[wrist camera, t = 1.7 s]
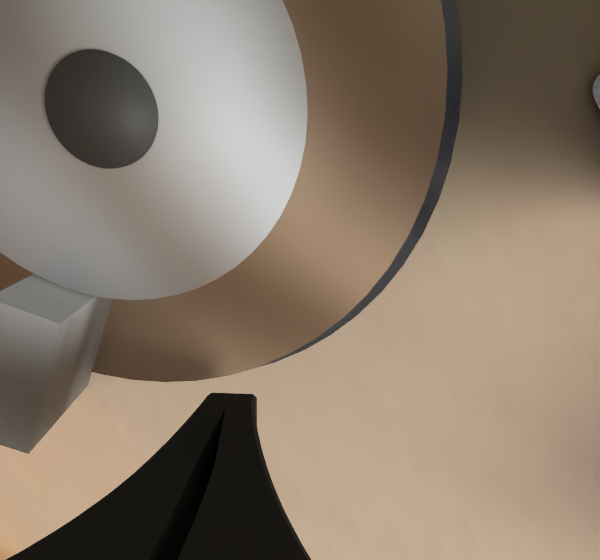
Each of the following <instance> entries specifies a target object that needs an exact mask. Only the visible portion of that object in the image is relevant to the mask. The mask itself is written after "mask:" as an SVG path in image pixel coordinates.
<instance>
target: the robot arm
mask: <svg viewBox="0 0 600 560" xmlns="http://www.w3.org/2000/svg"><path fill="white" fill-rule="evenodd" d="M592 91H593V96H594V98H595V100H596V103H597V105H598V107H599V109H600V74H599V75H598V76H597V78H596V80H595V82H594V84H593V90H592ZM6 560H311V559H310V557H309V555H308V554H307V552H306V550H305V549H304V547H303V545H302V544H301V542H300V540H299V538H298V536H297V534H296V532H295V530H294V529H293V527H292V525H291V523H290V521H289V519H288V517H287V515H286V513H285V511H284V509H283V507H282V504H281V502H280V500H279V498H278V495H277V493H276V490H275V488H274V486H273V483H272V480H271V478H270V475H269V472H268V469H267V466H266V462H265V459H264V456H263V452H262V449H261V444H260V440H259V436H258V431H257V398H256V397H255V396H254V395H253V394H230V393H211V394H209V395H208V396H207V397H206V399H205V400H204V401H203V402H202V403H201V405H200V406H199V407H198V408H197V409H196V411H195V412H194V413H193V414H192V415H191V416H190V418H189V419H188V420H187V421H186V422H185V423H184V424H183V425H182V427H181V428H180V429H179V430H178V431H177V432H176V433H175V434H174V435H173V436H172V437H171V438H170V439H169V440H168V442H167V443H166V444H165V445H164V446H162V447H161V448H160V449H159V450H158V451H157V452H156V453H155V454H154V455H153V456H152V457H151V458H150V459H149V460H148V461H147V462H146V463H145V464H144V465H143V466H142V467H140V468H139V469H138V470H137V471H136V472H135V473H134V474H133V475H131V476H130V477H129V478H128V479H127V480H125V481H124V482H123V483H122V484H121V485H119V486H118V487H117V488H116V489H114V490H113V491H112V492H111V493H109V494H108V495H107V496H105V497H104V498H103V499H101V500H100V501H98V502H97V503H96V504H94V505H93V506H91V507H90V508H89V509H87V510H86V511H84V512H83V513H82V514H80V515H79V516H77V517H76V518H74V519H73V520H72V521H70V522H68V523H67V524H65V525H64V526H62V527H61V528H59V529H58V530H56V531H54V532H53V533H51V534H50V535H48V536H46V537H45V538H43V539H41V540H40V541H38V542H36V543H35V544H33V545H31V546H30V547H28V548H26V549H24V550H23V551H21V552H19V553H17V554H16V555H14V556H12V557H10V558H8V559H6Z"/></svg>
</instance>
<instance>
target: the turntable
mask: <svg viewBox="0 0 600 560" xmlns="http://www.w3.org/2000/svg"><path fill="white" fill-rule="evenodd" d="M447 74H448V71H447V53H446V36H445V22H444V17H443V11H442V6H441V0H0V445H3V446H6V447H9V448H12V449H15V450H18V451H22V452H25V453H28V454H29V453H30V451H31V450H32V449H33V448H34V447H35V446H36V444H37V443H38V442H39V441H40V440H41V439H42V437H43V436H44V435H45V434H46V433H47V432H48V431H49V429H50V428H51V427H52V426H53V425H54V424H55V422H56V421H57V420H58V419H59V418H60V417H61V416H62V414H63V413H64V412H65V411H66V410H67V409H68V407H69V406H70V405H71V404H72V403H73V402H74V400H75V399H76V398H77V397H78V396H79V395H80V394H81V392H82V391H83V390H84V389H85V388H86V387H87V385H88V383H89V380H90V376H91V373H92V372H95V373H99V374H104V375H110V376H115V377H121V378H126V379H132V380H145V381H160V382H172V381H196V380H203V379H209V378H215V377H222V376H228V375H231V374H235V373H239V372H242V371H246V370H249V369H253V368H256V367H259V366H262V365H264V364H267V363H269V362H271V361H274V360H276V359H278V358H281V357H283V356H286V355H288V354H290V353H291V352H293V351H295V350H297V349H298V348H300V347H302V346H304V345H305V344H307V343H309V342H311V341H312V340H314V339H316V338H317V337H319V336H320V335H321V334H323V333H324V332H325V331H327V330H328V329H329V328H331V327H332V326H333V325H335V324H336V323H337V322H339V321H340V320H341V319H343V318H344V317H345V316H346V315H347V314H348V313H349V312H350V311H351V310H352V309H353V308H354V307H355V306H356V305H357V304H358V303H359V302H360V301H361V300H362V299H363V298H364V297H365V296H366V295H367V294H368V293H369V292H370V290H371V289H372V288H373V287H374V285H375V284H376V283H377V282H378V280H379V279H380V278H381V277H382V275H383V274H384V273H385V272H386V270H387V269H388V268H389V267H390V265H391V263H392V262H393V260H394V258H395V257H396V255H397V254H398V252H399V250H400V249H401V247H402V245H403V244H404V242H405V240H406V239H407V237H408V236H409V233H410V231H411V229H412V227H413V225H414V222H415V220H416V218H417V216H418V214H419V211H420V209H421V207H422V205H423V203H424V200H425V197H426V194H427V191H428V188H429V185H430V181H431V178H432V175H433V172H434V169H435V165H436V162H437V158H438V152H439V147H440V141H441V136H442V130H443V125H444V120H445V106H446V90H447Z"/></svg>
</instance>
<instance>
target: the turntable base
mask: <svg viewBox="0 0 600 560" xmlns="http://www.w3.org/2000/svg"><path fill="white" fill-rule="evenodd" d="M441 6H442V11H443V17H444V22H445V36H446V53H447V71H448V74H447V90H446V106H445V120H444V125H443V130H442V136H441V141H440V147H439V152H438V158H437V162H436V165H435V169H434V172H433V175H432V178H431V181H430V185H429V188H428V191H427V194H426V197H425V200H424V203H423V205H422V207H421V209H420V211H419V214H418V216H417V218H416V220H415V222H414V225H413V227H412V229H411V231H410V233H409V236H408V237H407V239H406V240H405V242H404V244H403V245H402V247H401V249H400V250H399V252H398V254H397V255H396V257H395V258H394V260H393V262H392V263H391V265H390V267H389V268H388V269H387V270H386V272H385V273H384V274H383V275H382V277H381V278H380V279H379V280H378V282H377V283H376V284H375V285H374V287H373V288H372V289H371V290H370V292H369V293H368V294H367V295H366V296H365V297H364V298H363V299H362V300H361V301H360V302H359V303H358V304H357V305H356V306H355V307H354V308H353V309H352V310H351V311H350V312H349V313H348V314H347V315H346V316H345V317H344V318H343V319H341V320H340V321H339V322H337V323H336V324H335V325H333V326H332V327H331V328H329V329H328V330H327V331H325V332H324V333H323V334H321V335H320V336H319V337H317V338H316V339H314V340H312V341H311V342H309V343H307V344H305V345H304V346H302V347H300V348H298V349H297V350H295V351H293V352H291V353H290V354H288V355H286V356H283V357H281V358H278V359H276V360H274V361H271V362H269V363H267V364H270V363H274V362H276V361H279V360H281V359H284V358H286V357H288V356H291V355H293V354H296V353H298V352H300V351H303V350H305V349H306V348H308V347H310V346H312V345H313V344H315V343H317V342H319V341H321V340H322V339H324V338H326V337H328V336H329V335H331V334H332V333H334V332H335V331H336V330H338V329H339V328H340V327H342V326H343V325H344V324H346V323H347V322H349V321H350V320H351V319H353V318H354V317H355V316H357V315H358V314H359V313H360V312H361V311H362V310H363V309H364V308H365V307H366V306H367V305H368V304H369V303H370V302H371V301H372V300H373V299H374V298H375V297H376V296H378V295H379V294H380V293H381V292H382V290H383V289H384V288H385V287H386V286H387V284H388V283H389V282H390V281H391V279H392V278H393V277H394V276H395V274H396V273H397V272H398V271H399V269H400V268H401V267H402V266H403V264H404V263H405V261H406V260H407V258H408V256H409V255H410V253H411V252H412V250H413V248H414V247H415V245H416V244H417V242H418V240H419V239H420V237H421V236H422V234H423V232H424V230H425V228H426V225H427V223H428V221H429V219H430V217H431V215H432V212H433V210H434V208H435V206H436V204H437V202H438V200H439V196H440V193H441V190H442V187H443V184H444V181H445V178H446V175H447V172H448V169H449V166H450V163H451V158H452V153H453V148H454V142H455V137H456V132H457V127H458V122H459V110H460V97H461V83H462V67H461V46H460V29H459V23H458V17H457V11H456V5H455V0H441ZM267 364H264V365H267ZM262 366H263V365H262Z"/></svg>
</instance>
